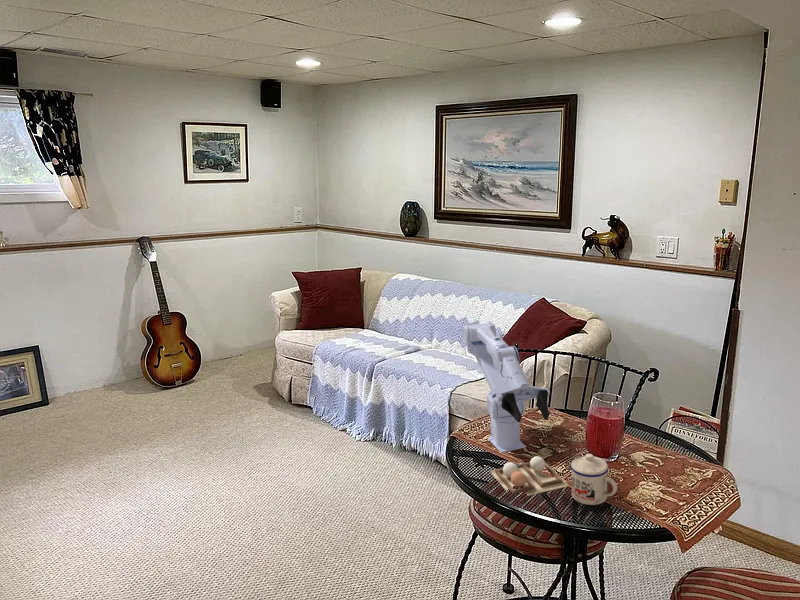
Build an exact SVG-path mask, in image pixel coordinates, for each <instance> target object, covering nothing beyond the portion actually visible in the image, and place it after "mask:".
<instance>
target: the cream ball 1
mask: <svg viewBox="0 0 800 600" xmlns="http://www.w3.org/2000/svg"><path fill="white" fill-rule="evenodd" d="M515 464H516V463H514V462H509V461H508V462H507V463H505V464H504V466H503V467H502V468H503V473H504V474H505V476H507V477H509V478H511V476H512V474H513V473H514V472H517V471H518V468H517V466H516V465H515Z"/></svg>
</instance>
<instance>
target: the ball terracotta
mask: <svg viewBox="0 0 800 600" xmlns="http://www.w3.org/2000/svg"><path fill="white" fill-rule="evenodd" d="M511 482H512V484H513V485H514V486H516V487H522V486H524V485H525V483H526V476H525V474H524V473H523V472H520V471H517V472H514V473H513V474H512V476H511Z"/></svg>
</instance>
